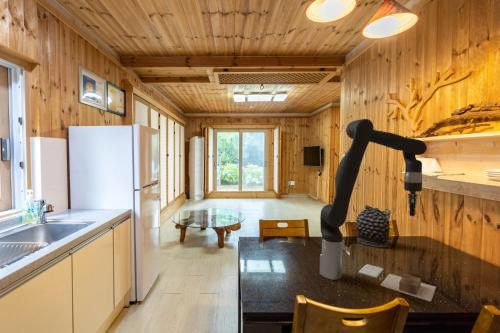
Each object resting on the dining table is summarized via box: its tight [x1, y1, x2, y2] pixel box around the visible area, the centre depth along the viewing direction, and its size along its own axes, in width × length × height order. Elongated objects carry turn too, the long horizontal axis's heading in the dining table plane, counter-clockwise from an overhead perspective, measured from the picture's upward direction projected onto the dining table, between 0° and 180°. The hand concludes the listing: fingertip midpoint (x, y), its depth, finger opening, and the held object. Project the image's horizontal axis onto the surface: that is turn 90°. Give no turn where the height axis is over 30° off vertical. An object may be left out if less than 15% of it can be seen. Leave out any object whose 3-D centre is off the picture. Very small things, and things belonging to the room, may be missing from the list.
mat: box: [379, 273, 437, 302], centre depth 109 cm, size 18×15×1 cm
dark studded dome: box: [354, 204, 392, 248], centre depth 164 cm, size 21×15×25 cm
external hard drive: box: [357, 263, 384, 279], centre depth 123 cm, size 2×8×12 cm
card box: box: [399, 273, 422, 295], centre depth 107 cm, size 6×4×10 cm
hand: (412, 215), depth 126 cm, fingers closed
